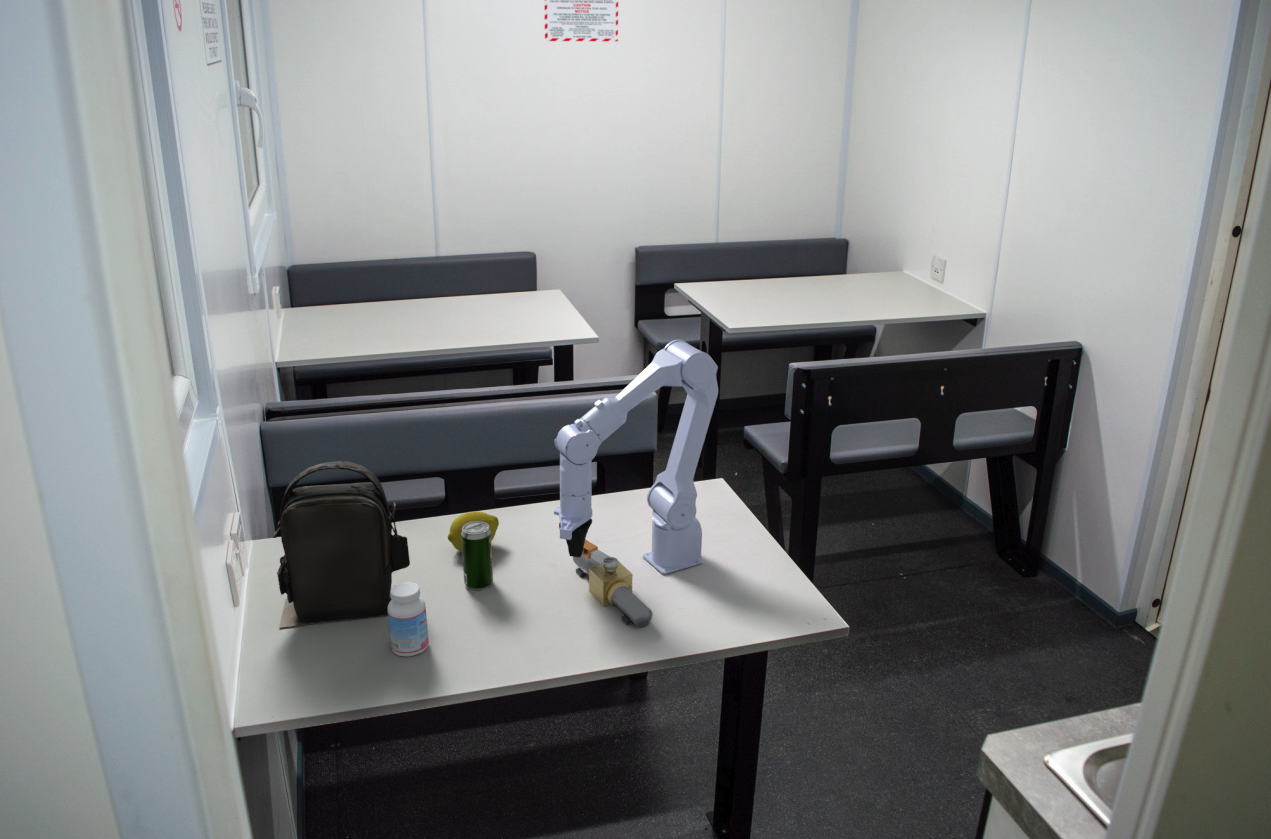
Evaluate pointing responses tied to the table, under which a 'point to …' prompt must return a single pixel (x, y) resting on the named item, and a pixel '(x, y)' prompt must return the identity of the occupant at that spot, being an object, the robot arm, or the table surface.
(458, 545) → the lemon
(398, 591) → the pill bottle
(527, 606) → the table surface
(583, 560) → the valve pipe
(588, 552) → the valve lever
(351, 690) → the table surface
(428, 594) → the table surface
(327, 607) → the shoulder bag
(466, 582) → the beer can
